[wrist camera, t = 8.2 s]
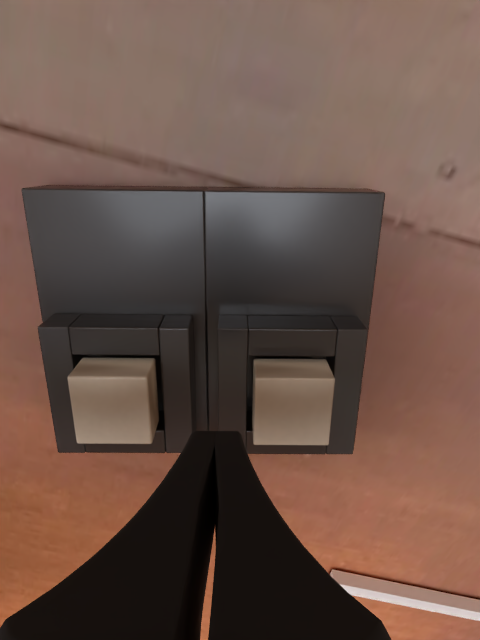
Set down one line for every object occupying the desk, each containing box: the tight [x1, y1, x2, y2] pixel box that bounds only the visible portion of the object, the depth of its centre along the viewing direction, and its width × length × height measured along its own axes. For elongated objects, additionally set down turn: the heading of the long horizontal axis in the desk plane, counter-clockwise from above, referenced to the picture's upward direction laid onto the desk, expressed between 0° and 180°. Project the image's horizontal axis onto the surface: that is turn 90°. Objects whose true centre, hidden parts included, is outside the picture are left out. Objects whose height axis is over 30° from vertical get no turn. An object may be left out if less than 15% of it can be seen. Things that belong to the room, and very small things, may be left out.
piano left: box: [22, 185, 208, 453], centre depth 19 cm, size 12×7×4 cm, turn 179°
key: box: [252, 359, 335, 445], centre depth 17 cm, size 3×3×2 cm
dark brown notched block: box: [204, 187, 385, 454], centre depth 19 cm, size 12×7×4 cm, turn 179°
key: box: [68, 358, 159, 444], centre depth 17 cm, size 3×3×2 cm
